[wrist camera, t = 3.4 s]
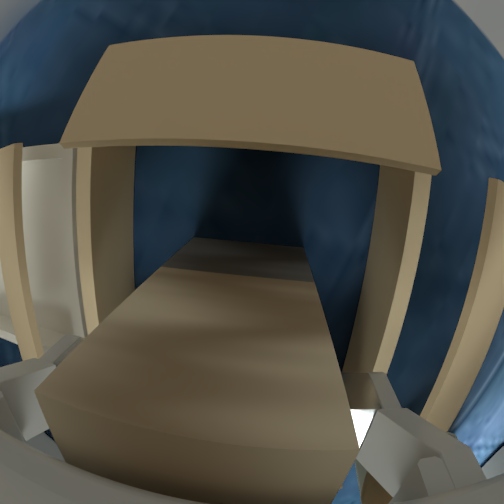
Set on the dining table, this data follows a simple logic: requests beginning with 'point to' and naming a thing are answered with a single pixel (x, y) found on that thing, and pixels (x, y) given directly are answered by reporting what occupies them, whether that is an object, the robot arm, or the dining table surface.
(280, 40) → the carton
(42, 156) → the tray
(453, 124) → the dining table surface
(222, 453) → the chunky box
